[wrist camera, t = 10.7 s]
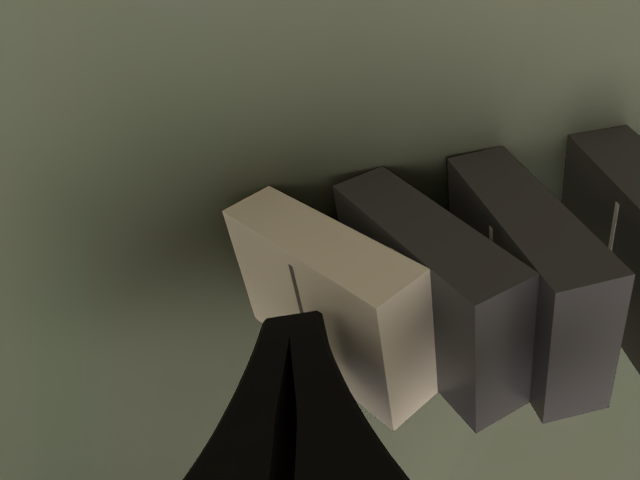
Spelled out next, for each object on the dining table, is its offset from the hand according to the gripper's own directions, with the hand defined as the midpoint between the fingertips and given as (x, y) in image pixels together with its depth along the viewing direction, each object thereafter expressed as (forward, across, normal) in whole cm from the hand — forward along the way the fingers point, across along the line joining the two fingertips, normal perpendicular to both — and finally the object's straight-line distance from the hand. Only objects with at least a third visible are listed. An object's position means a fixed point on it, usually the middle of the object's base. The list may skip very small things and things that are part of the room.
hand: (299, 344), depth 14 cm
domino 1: (+4, +1, 0) cm, 4 cm away
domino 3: (+4, -5, 0) cm, 7 cm away
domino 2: (+4, -2, 0) cm, 5 cm away
